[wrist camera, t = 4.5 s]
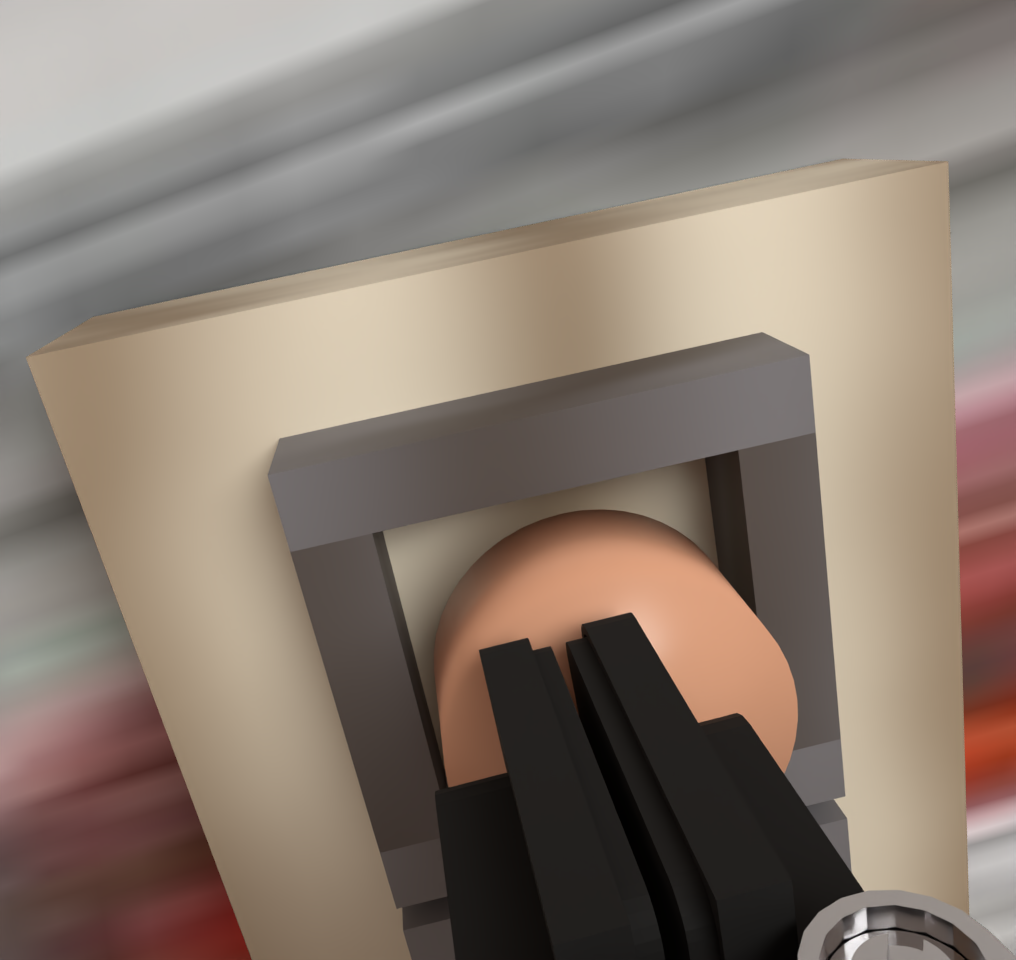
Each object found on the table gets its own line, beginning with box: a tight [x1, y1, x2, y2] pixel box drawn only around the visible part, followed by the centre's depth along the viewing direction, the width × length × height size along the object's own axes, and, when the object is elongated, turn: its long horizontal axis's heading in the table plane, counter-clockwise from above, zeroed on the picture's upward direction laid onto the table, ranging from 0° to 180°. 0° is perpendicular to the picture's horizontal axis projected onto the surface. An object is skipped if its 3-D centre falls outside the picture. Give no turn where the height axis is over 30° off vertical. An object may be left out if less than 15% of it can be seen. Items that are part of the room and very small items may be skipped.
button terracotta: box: [434, 509, 798, 787], centre depth 12 cm, size 4×4×2 cm
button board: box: [26, 159, 969, 960], centre depth 17 cm, size 12×24×4 cm, turn 11°
